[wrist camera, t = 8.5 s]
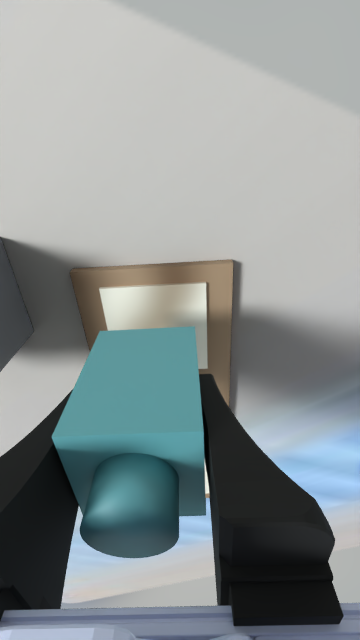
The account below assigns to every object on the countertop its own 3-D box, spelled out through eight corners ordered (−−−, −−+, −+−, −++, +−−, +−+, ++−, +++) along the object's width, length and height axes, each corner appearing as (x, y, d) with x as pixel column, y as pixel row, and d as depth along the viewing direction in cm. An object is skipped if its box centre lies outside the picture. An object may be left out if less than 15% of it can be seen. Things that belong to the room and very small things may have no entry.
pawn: (194, 326, 14) (207, 484, 7) (197, 397, 16) (209, 568, 9) (99, 330, 14) (26, 490, 7) (115, 401, 16) (70, 572, 10)
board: (231, 259, 17) (233, 264, 16) (225, 490, 27) (226, 499, 27) (73, 268, 17) (68, 273, 16) (128, 493, 28) (127, 502, 27)
